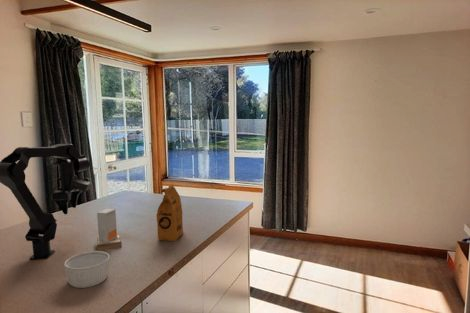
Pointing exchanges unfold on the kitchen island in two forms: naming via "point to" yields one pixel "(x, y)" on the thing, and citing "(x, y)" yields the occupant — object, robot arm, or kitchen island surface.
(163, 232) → the coffee package
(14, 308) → the kitchen island surface
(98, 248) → the plinth
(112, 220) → the skincare box
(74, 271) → the ramekin
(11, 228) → the kitchen island surface
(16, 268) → the kitchen island surface
